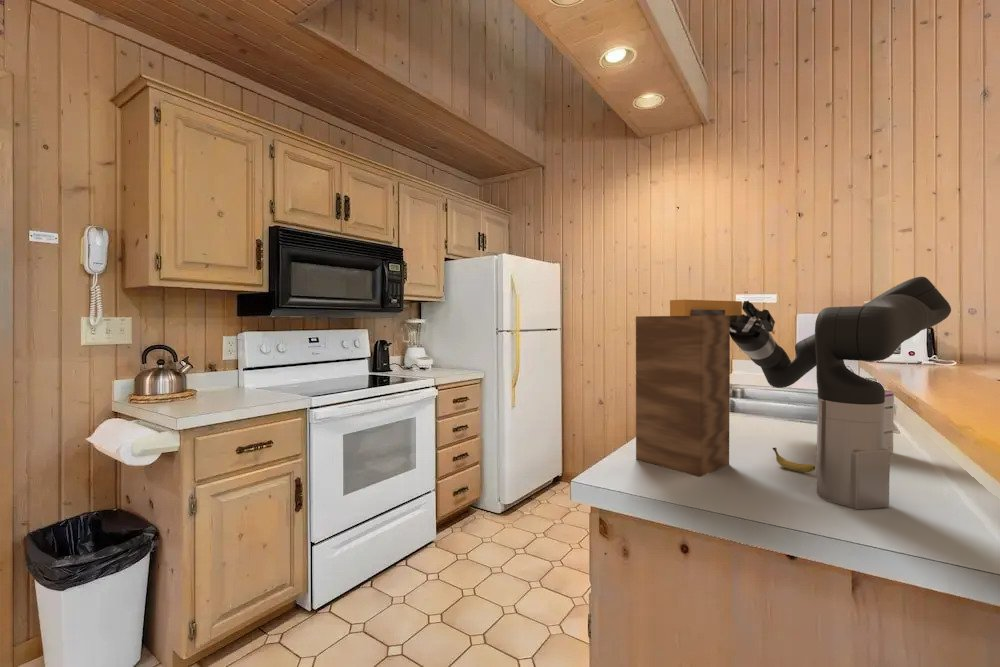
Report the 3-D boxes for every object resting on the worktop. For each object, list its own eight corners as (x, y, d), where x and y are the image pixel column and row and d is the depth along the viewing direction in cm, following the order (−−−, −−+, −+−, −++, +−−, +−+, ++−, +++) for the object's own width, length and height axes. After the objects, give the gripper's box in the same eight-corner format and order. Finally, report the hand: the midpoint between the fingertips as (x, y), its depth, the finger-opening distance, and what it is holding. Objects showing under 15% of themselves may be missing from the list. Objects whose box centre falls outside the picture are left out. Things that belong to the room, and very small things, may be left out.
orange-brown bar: (727, 315, 109) (727, 301, 109) (741, 315, 106) (741, 301, 106) (670, 316, 94) (669, 300, 94) (684, 315, 92) (684, 299, 92)
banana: (770, 466, 99) (770, 447, 99) (774, 464, 100) (775, 446, 99) (813, 477, 92) (813, 457, 92) (817, 475, 93) (817, 455, 93)
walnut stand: (666, 449, 112) (666, 311, 110) (729, 464, 100) (729, 309, 99) (636, 459, 104) (635, 311, 103) (699, 476, 92) (700, 309, 91)
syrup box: (894, 453, 107) (895, 390, 106) (878, 456, 105) (879, 392, 104) (867, 446, 112) (867, 386, 112) (851, 449, 110) (851, 388, 110)
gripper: (781, 353, 107) (754, 318, 98) (720, 350, 118) (691, 319, 110) (788, 325, 109) (762, 288, 100) (727, 324, 121) (699, 292, 112)
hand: (725, 304), depth 105 cm, fingers open, 8 cm apart
